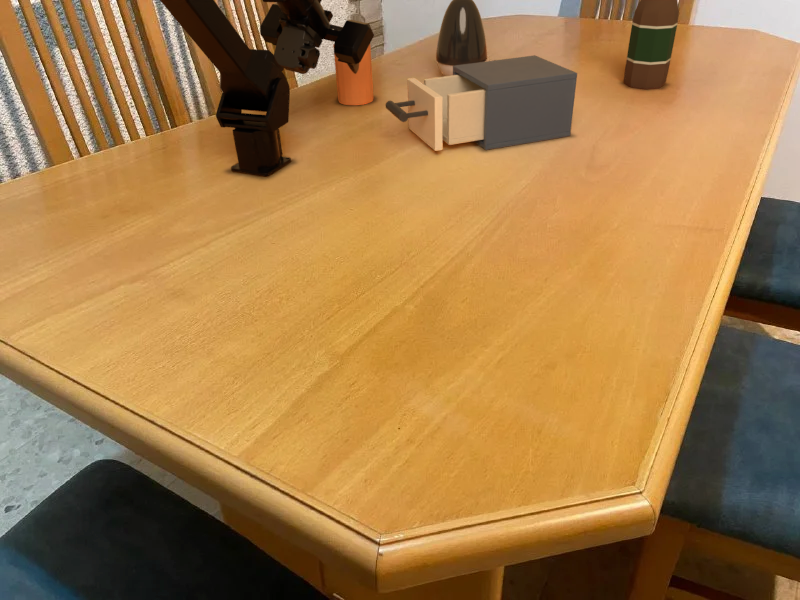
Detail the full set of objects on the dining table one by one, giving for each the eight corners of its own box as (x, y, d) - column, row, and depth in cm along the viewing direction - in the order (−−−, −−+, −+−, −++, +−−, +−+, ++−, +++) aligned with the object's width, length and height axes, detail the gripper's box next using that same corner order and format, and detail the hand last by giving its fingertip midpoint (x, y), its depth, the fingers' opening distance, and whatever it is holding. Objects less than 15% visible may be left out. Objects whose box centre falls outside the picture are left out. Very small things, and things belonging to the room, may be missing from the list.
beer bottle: (623, 89, 119) (646, -58, 106) (621, 78, 126) (643, -62, 112) (667, 90, 118) (696, -59, 104) (663, 79, 124) (690, -63, 111)
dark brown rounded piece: (485, 70, 134) (488, -9, 126) (486, 83, 126) (489, -1, 117) (437, 71, 135) (437, -8, 127) (434, 84, 127) (434, 1, 118)
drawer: (406, 155, 92) (404, 101, 88) (382, 132, 102) (379, 82, 97) (517, 137, 97) (520, 85, 93) (484, 116, 106) (486, 68, 102)
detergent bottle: (356, 107, 116) (351, 34, 109) (331, 101, 120) (324, 30, 113) (380, 98, 120) (377, 27, 113) (355, 93, 124) (350, 24, 117)
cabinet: (485, 150, 96) (488, 85, 90) (452, 125, 106) (452, 65, 100) (570, 136, 99) (577, 72, 94) (530, 113, 109) (535, 55, 104)
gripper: (223, 32, 97) (269, 92, 111) (325, 57, 90) (360, 118, 105) (256, -28, 99) (297, 40, 113) (359, -7, 92) (388, 62, 107)
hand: (333, 65), depth 109 cm, fingers open, 9 cm apart
